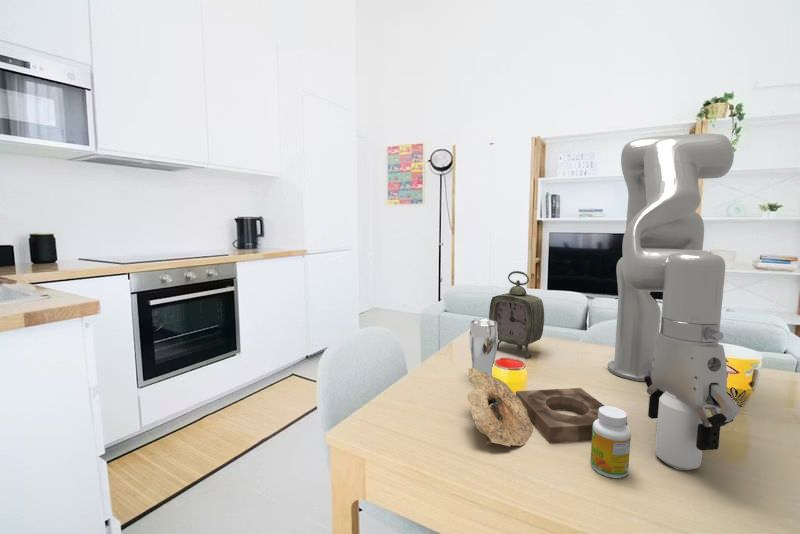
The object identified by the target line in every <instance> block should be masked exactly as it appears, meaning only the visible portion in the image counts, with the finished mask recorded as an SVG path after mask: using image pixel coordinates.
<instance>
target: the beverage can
mask: <svg viewBox="0 0 800 534" xmlns="http://www.w3.org/2000/svg"><path fill="white" fill-rule="evenodd" d="M703 404H705V403H704V402H703ZM698 424H703V423H702V421H701V419H700V417H699V415H698V413H697V411H696V409H695V408H693V407H691V406H689V405H687V404H685V403H683V402H681V401H680V400H678V399H677V398H676V397H675V396H674V395H671V394H669V393H668V392H667V391H665V392H664V393H663V394H662V395H661V397H660V398H659V409H658V418H657V424H656V435H655V447H654V448H655V450H654V451H655V454H656V455H657V457H658V458H659V459H660V460H662V461H663V463H665V464H666V465H668V466H670V467H672V468H674V467H675V469H677V468H678V470H682V469H683V471H689V470H696V469H698V468H700V466H701V464H702V456H703V451H701V450H699V449H698V448H697V447H696V441H697V430H698Z"/></svg>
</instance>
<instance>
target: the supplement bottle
mask: <svg viewBox="0 0 800 534" xmlns="http://www.w3.org/2000/svg"><path fill="white" fill-rule="evenodd" d="M627 415H628V414H627V412H625V411H624V410H623V409H620V408H618V407H615V406H611V405H604V406H602V407H600V408H599V410H598V418H599V419H597V420H595V421H594V423H593V429H592V440H591V448H590V466H591V467H592V468H593V469H594V470H595V472H597V473H598V474H600V475H603V476H604V477H607V478H610V477H611V478H610V479H622V477H623V478H625V477H626V476H627V475H628V473H629V466H630V464H629V463H630V454H631V453H630V450H631V439H632V438H631V436H632V435H631V434H632V433H631V430H630V428H629V426H628V425H627V426H626V422H627V421H628V420H627V419H628V416H627ZM627 423H628V422H627Z"/></svg>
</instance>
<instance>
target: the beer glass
mask: <svg viewBox="0 0 800 534" xmlns="http://www.w3.org/2000/svg"><path fill="white" fill-rule="evenodd" d="M498 342H499V340H498V323H497V322H496V321H493V320H489V318H488V319H487V318H478V319H477V318H476V319H472V320H470V327H469V350H470V356H471V363H472V365H471V366H472V367H471V368H474V369H476V370H478V371H480V372H482V373H485V374H488V375H491V376H492V367H493V364H494V365H495V360H496V357H497V353H498V352H497V350H498V349H497V346H498ZM470 381H471V382H472V380H471V379H470Z"/></svg>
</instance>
